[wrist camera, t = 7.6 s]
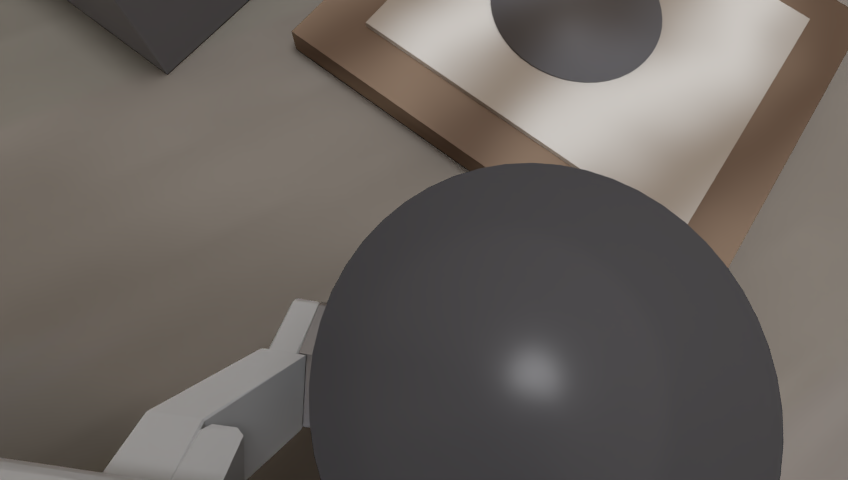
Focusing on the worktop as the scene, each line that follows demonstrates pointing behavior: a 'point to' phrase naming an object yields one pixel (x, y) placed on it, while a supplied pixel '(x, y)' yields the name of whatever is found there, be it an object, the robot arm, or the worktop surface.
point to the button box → (161, 24)
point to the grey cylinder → (541, 342)
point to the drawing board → (600, 88)
